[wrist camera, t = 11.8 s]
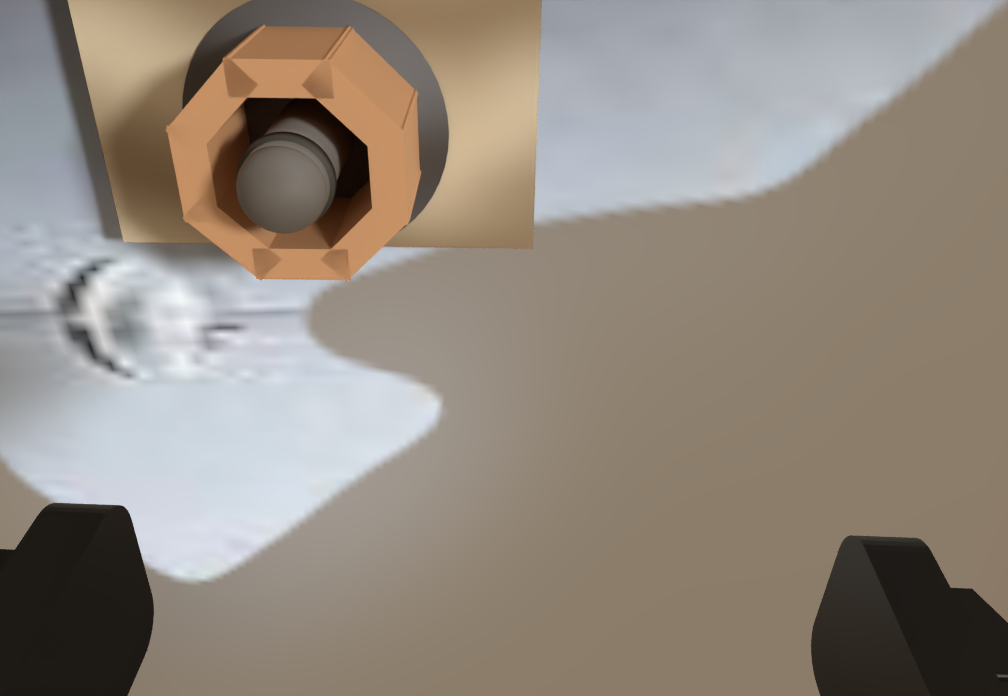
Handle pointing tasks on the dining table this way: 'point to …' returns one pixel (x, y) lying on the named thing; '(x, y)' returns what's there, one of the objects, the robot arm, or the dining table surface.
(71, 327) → the dining table surface
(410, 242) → the post board
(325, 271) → the ring
